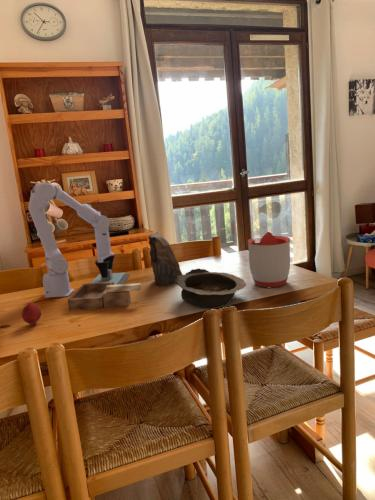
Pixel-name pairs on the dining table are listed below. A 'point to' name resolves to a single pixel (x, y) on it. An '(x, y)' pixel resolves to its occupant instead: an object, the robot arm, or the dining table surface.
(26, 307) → the onion
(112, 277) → the lid
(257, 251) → the citrus juicer
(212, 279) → the stone bowl
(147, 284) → the dining table surface
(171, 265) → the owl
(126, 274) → the mat
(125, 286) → the beige rectangular bar
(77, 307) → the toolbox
